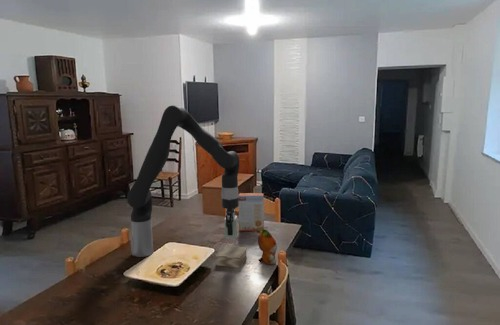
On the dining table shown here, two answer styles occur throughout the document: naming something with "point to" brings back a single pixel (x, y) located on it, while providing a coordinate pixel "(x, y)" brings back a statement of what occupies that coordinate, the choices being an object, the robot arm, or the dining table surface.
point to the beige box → (231, 256)
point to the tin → (233, 229)
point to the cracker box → (251, 211)
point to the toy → (267, 247)
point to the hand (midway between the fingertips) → (231, 232)
